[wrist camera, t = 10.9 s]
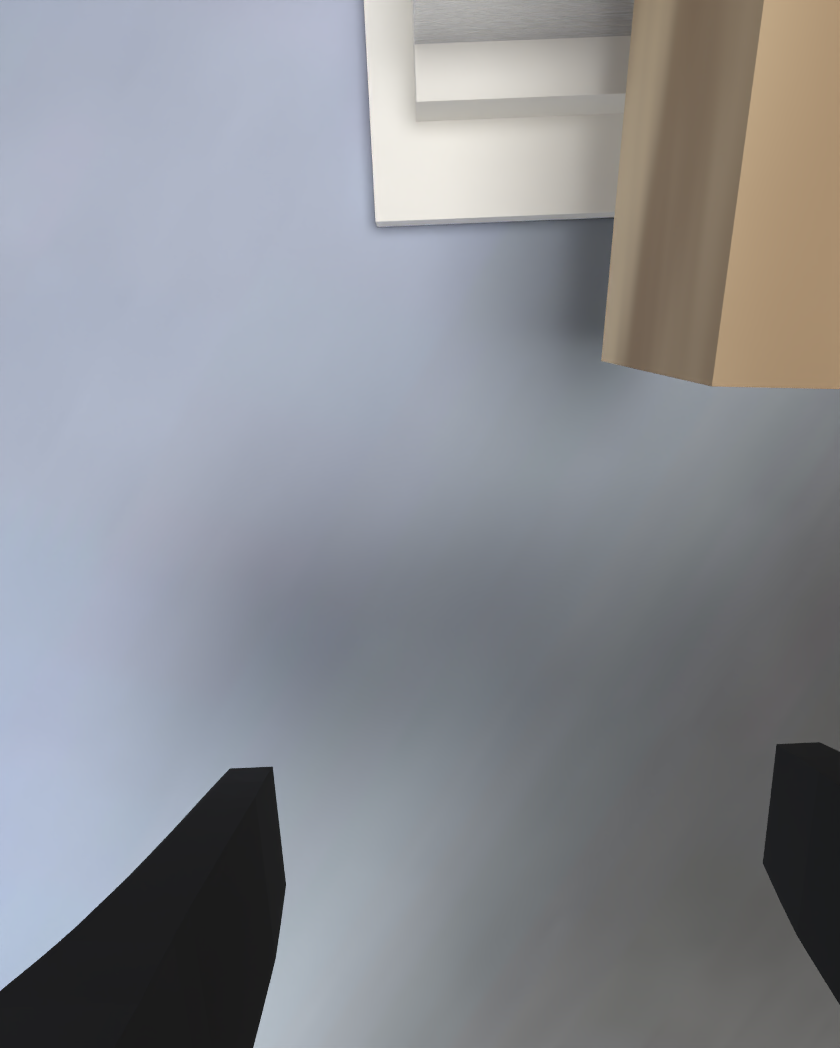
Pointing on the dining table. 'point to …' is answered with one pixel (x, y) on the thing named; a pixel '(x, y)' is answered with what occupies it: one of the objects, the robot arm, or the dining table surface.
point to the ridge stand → (496, 108)
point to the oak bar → (729, 195)
